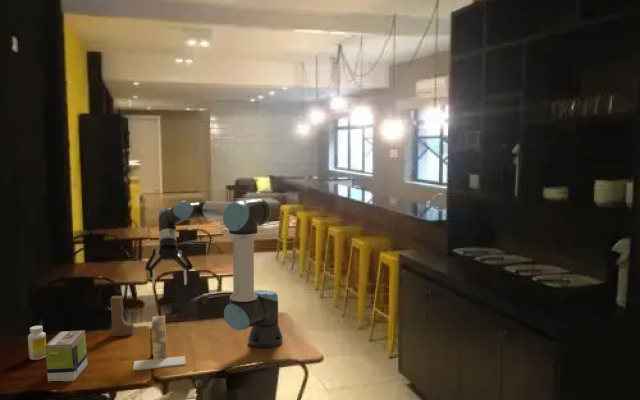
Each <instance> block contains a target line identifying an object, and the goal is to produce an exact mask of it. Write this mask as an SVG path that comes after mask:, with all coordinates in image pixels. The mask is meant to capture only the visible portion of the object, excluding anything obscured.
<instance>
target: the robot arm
mask: <svg viewBox="0 0 640 400" xmlns="http://www.w3.org/2000/svg"><path fill="white" fill-rule="evenodd" d="M271 215H272V209H271V206H270V204H269V203H268V202H267V201H266V200H264V199H262V198H251V199H243V200H242V199H240V200H236V201H209V200H201V201H197V202H189V201H187V200H180V201H179V202H177V203H176V204H174V205H173V206H172V207H170V208H169V207H168V208H167V207H165V208H164V209H163V208H162V209H161V210H159V212H158V218H157V220H158V232H159V233H158V235H159V239H158V240H159V249H155V248H153V249H152V252H151V256H150V258H149V260H148V261H147V263H146V265H145V267H144V270H145V271H148V273H149V278H150V279H152V281H151V283H152V286H155V284H156V280H155V279H156V278H155V272H156V271H155V270H156V267H157V266H158V265H159V264H160V263H161V262H162V261H163V260H164V261H174V262H176V263H177V264H178V265H179V266H180V267H181V268H182V269H183V284H184V286H187V283H188V278H189V276H190V272H189V271H191V270H193V264H192V262H191V261H190V260H189V258H188V255H186V252H185V249H184V248H181V250H179V249H178V245H177V225H179V224H180V223H182V222H183V221H187V220H188V221H189V220H194V219H195V220H196V219H200V218H201V219H202V218H204V219H208V218H209V219H222V220H223V225H225V228H226V229H228V234H229V235H230V236H231V237H232V271H233V273H232V277H233V279H232V282H233V283H232V289H233V290H232V294H231V295H230V296H229V304H227V305H226V307H225V308H224V310H223V316H224V320H225V323H226V324H227V325H228V326H229V328H231V329H232V330H234V331H244V330H248V329H249V328H250V331H249V335H248V340H247V341H248V342H247V343H248V345H249V346H251V347H253V348H259V349H268V348H275V347H278V346H279V345H281V344H282V343H283V334H282V331H281V328H280V326H279V297H278V296H279V295H278V293H277V292H276V291H273V290H267V289H266V290H265V289H256V290H255V282H254V281H255V268H254V267H255V246H254V243H255V240H254V239H255V236H256V235H257V234H258V227H259V226H262V225H264V224H266V223H267V222H269V220H270V218H271ZM157 255H159V257H158V258H157V259H156V261H154V258H155V256H157ZM178 255H180V256H181V258H182V259H183V260H182V259H181V258H180V257H179V256H178ZM153 261H154V263H152V262H153ZM151 264H152V265H151Z"/></svg>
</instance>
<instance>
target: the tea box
mask: <svg viewBox="0 0 640 400" xmlns="http://www.w3.org/2000/svg"><path fill="white" fill-rule="evenodd" d="M45 352H46V357H45V361H46V373H47V374H46V376H47V382H48V383H50V382H49V381H63V382H74V381H75V380H76V379H77V378H78V377H79V375H80V374H81V373H82V372H83V371H84V370H85V368H86V367H87V366H88V364H89V363H88V354H87V342H86V330H70V331H68V330H67V331H59V332H58V333H57V334H56V335H55V336H53V338H51V339H50V340H49V341H48V343H47V342H46V345H45Z"/></svg>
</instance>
